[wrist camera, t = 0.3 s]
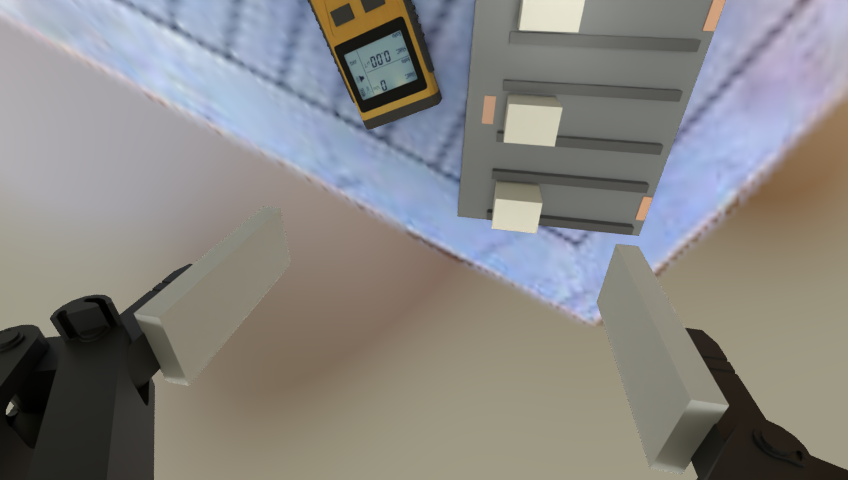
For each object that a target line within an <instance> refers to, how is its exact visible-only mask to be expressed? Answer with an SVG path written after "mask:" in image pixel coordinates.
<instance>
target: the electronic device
mask: <svg viewBox="0 0 848 480" xmlns="http://www.w3.org/2000/svg"><path fill="white" fill-rule="evenodd" d="M308 3H310V6H311V8H312V12H314V15H315V17H316V21H317V22H318V24H319V26H320V30H321V31H322V33H323V35H324V36H323V37H324V38H325V40H326V42H327V46H328V47H329V49H330V51H331V55H332V56H333V58H334V62H335V64H336V65H337V67H338V71H339V72H340V74H341V77H342V79H343V81H344V83H345V86H346V88H347V90H348V93H349V95H350V97H351V99H352V101H353V103H355V104H356V106H357V108H358V111H359V113H360V115H361V117H362V120H363V122H364V125H365V127H366V129H368V130H369V129H373V128H375V127H378V126H381V125H384V124H386V123H389V122H392V121H395V120H397V119H400V118H403V117H406V116H408V115H411V114H414V113H417V112H419V111H422V110H425V109H427V108H430V107H433V106H435V105H437V104H439V103H440V101H441V99H442V97H441V94H440V91H439V89H438V86H437V83H436V80H435V77H434V74H433V71H434V68H433V65H432V62H431V59H430V56H429V53H428V50H427V47H426V44H425V41H424V38H423V36H424V33H422V32H421V29H420V28H421V24H419V23H418V20H417V19H418V15H416V14H415V11H414V9H415V6H414V5H412V2H411V0H308Z"/></svg>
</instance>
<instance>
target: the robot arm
mask: <svg viewBox="0 0 848 480" xmlns="http://www.w3.org/2000/svg"><path fill="white" fill-rule="evenodd" d="M290 264H291V261H290V256H289V251H288V245H287V239H286V234H285V229H284V224H283V218H282V213H281V209H280V208H273V207H262V208H261V209H260V210H259V211H257V212H256V213H255V214H254V215H253V216H251V217H250V218H249V219H248V220H246V221H245V222H244V223H243V224H242V225H240V226H239V227H238V228H237V229H235V230H234V231H233V232H232V233H231V234H229V235H228V236H227V237H226V238H225V239H223V240H222V241H221V242H220V243H219V244H217V245H216V246H215V247H214V248H213V249H211V250H210V251H209V252H208V253H206V254H205V255H204V256H203V257H202V258H200V259H199V260H198V261H197V262H195V263H194V264H188V265H186V266H184V267H182V268H180V269H178V270H176V271H174V272H173V273H171V274H170V275H169V276H168V277H166V278H165V279H164V280H163V281H162V283H159V284H158V285H156V286H155V287H154V288H153V290H152V291H149V292H148V293H146V294H145V295H144V296H143V297H141V298H140V299H139V300H138V301H137V302H135V303H134V304H133V305H131V306H130V307H129V308H128V309H126V310H125V311H124V312H123V313H121V314H120V315H119V313H118V311H117V309H116V308H115V306H114V304H113V302H112V300H111V298H109V297H108V296H106V295H91V296H85V297H82V298H79V299H76V300H73V301H71V302H69V303H67V304H65V305H63V306H62V307H60V308H59V309H58V310H56V311H55V312H54V313H53V315H52V316H51V318H50V320H51V321H52V323H53V325H54V326H55V328H56V329H57V331H58V332H59V334H60V335H61V336H58V337H48V338H45V337H44V335H43V334H42V332H41V331H40V329H39V328H38V327H37V326H34V325H20V326H16V327H11V328H8V329H5V330H2V331H0V480H154V407H155V406H154V405H155V404H154V403H155V386H154V383H153V380H152V378H151V377H152V376H153V375H154V374H155V373H156V372H157V371H158V370H159V369H161V371H162V373H163V375H164V377H165V379H166V381H167V382H171V383H177V384H183V385H188V386H189V385H190V384H191V383H192V382H193V381H194V379H195V378H196V377H197V376H198V375H199V373H200V372H201V371H202V369H203V368H204V367H205V366H206V365H207V364H208V362H209V361H210V360H211V359H212V358H213V356H214V355H215V354H216V353H217V351H219V349H220V348H221V347H222V346H223V344H224V343H225V342H226V341H227V340H228V338H229V337H230V336H231V335H232V334H233V332H234V331H235V330H236V329H237V328H238V326H239V325H240V324H241V323H242V322H243V320H244V319H245V318H246V317H247V316H248V314H249V313H250V312H251V311H252V310H253V308H254V307H255V306H256V305H257V303H258V302H259V301H260V300H261V299H262V298H263V296H264V295H265V294H266V293H267V292H268V290H269V289H270V288H271V287H272V286H273V284H274V283H275V282H276V281H277V280H278V278H279V277H280V276H281V274H283V272H284V271H285V270H286V269H287V268H288V266H289V265H290ZM597 305H598V308H599V311H600V314H601V317H602V320H603V323H604V326H605V330H606V332H607V336H608V339H609V342H610V345H611V348H612V351H613V354H614V358H615V361H616V364H617V367H618V370H619V373H620V376H621V380H622V383H623V386H624V389H625V392H626V395H627V398H628V401H629V405H630V408H631V411H632V414H633V417H634V420H635V423H636V426H637V430H638V433H639V436H640V439H641V442H642V445H643V448H644V451H645V454H646V458H647V461H648V464H649V467H650V468H651V469H656V470H662V471H667V472H673V473H678V474H682V473H683V472H684V470H685V469H686V467H687V466H688V465H689V463H690V462H691V461H692V464H693V466H694V468H695V471H696V473H697V476H698V478H697V480H848V470H846V469H843V468H841V467H838V466H836V465H833V464H831V463H828V462H825V461H823V460H821V459H818V458H816V457H814V456H811V455H810V454H809V452H808V451H807V449H806V448H805V446H804V445H803V444H802V443H801V442H800V441H799V440H798V439H797V438H796V437H795V436H793V435H792V434H791V433H789V432H788V431H786V430H785V429H784V428H782V427H780V426H778V425H776V424H774V423H772V422H770V421H768V420H766V418H765V417H764V415H763V414H762V412H761V411H760V409H759V408H758V406H757V405H756V403H755V401H754V400H753V398H752V397H751V395H750V394H749V392H748V390H747V389H746V387H745V386H744V384H743V383H742V381H741V380H740V378H739V376H738V375H737V374H735V370H734V369H733V367H732V366H731V364H730V362H727V358H726V356H725V355H724V353H723V351H722V350H721V349H720V347H719V345H718V344H717V343H716V342H715V341H714V340H713V339H712V338H710V337H709V336H708V335H707V334H706V333H705V332H704V331H702V330H697V329H690V328H685V327H684V325H683V324H682V322H681V320H680V319H679V317H678V315H677V313H676V312H675V310H674V308H673V306H672V304H671V303H670V301H669V299H668V298H667V296H666V294H665V292H664V290H663V289H662V287H661V285H660V283H659V282H658V280H657V278H656V276H655V275H654V273H653V271H652V269H651V268H650V266H649V264H648V262H647V261H646V259H645V257H644V255H643V254H642V252H641V250H640V248H639V247H638V246H631V245H621V244H616V246H615V249H614V252H613V255H612V258H611V261H610V264H609V267H608V270H607V273H606V276H605V279H604V282H603V285H602V288H601V291H600V294H599V297H598V300H597ZM9 402H12V404H13V405H14V407H13V409H12V410H11V411H10V413H9V414H8V415H6V409H7V406H8V404H9Z"/></svg>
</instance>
